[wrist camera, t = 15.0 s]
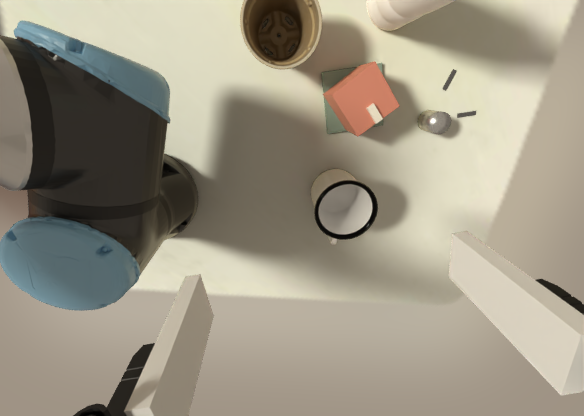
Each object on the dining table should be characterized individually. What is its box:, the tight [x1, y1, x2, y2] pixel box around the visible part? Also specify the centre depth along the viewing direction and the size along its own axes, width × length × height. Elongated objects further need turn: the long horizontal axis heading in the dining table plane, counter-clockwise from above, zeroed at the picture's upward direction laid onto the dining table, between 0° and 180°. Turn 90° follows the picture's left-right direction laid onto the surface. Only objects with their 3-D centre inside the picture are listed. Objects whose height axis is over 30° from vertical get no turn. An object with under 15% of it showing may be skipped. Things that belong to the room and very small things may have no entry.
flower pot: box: [240, 0, 322, 69], centre depth 37 cm, size 9×9×9 cm
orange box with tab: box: [323, 62, 399, 136], centre depth 41 cm, size 7×7×8 cm
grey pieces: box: [418, 69, 476, 134], centre depth 44 cm, size 10×9×4 cm
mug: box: [311, 169, 378, 245], centre depth 47 cm, size 12×10×9 cm
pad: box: [322, 63, 383, 134], centre depth 44 cm, size 9×9×1 cm
